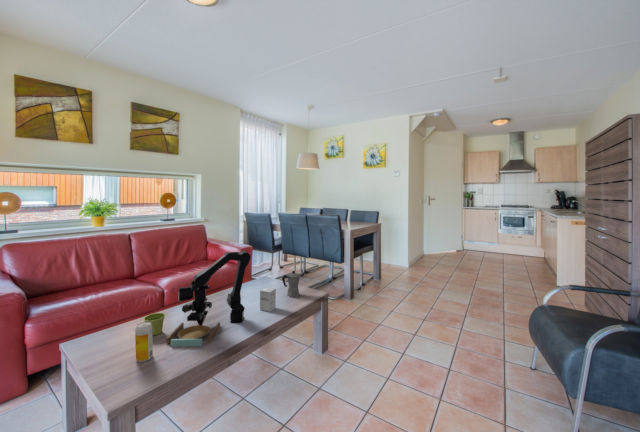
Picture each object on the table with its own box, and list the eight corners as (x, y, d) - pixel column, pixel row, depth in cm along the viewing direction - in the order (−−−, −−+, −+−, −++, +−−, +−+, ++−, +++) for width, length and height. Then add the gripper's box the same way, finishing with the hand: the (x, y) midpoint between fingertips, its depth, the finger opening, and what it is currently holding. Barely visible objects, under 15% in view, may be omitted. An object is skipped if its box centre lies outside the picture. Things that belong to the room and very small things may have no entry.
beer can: (141, 354, 119) (140, 321, 118) (155, 354, 120) (154, 321, 119) (132, 363, 113) (131, 328, 112) (148, 362, 114) (147, 327, 113)
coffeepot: (298, 292, 204) (298, 268, 203) (304, 295, 196) (304, 271, 195) (279, 295, 196) (279, 270, 195) (284, 299, 188) (285, 274, 187)
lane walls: (220, 327, 145) (220, 322, 145) (209, 343, 129) (209, 337, 129) (181, 328, 144) (181, 322, 144) (166, 344, 128) (166, 338, 128)
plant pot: (155, 338, 133) (155, 321, 133) (139, 336, 135) (139, 319, 134) (169, 330, 142) (169, 313, 142) (154, 328, 144) (154, 312, 144)
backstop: (202, 344, 128) (202, 338, 128) (201, 345, 127) (201, 339, 127) (171, 345, 127) (171, 339, 127) (170, 346, 126) (170, 340, 126)
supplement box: (259, 310, 169) (259, 290, 169) (266, 306, 176) (266, 286, 176) (269, 312, 167) (269, 292, 166) (276, 307, 174) (276, 288, 173)
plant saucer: (179, 332, 140) (179, 327, 140) (210, 328, 146) (210, 323, 145) (175, 346, 127) (175, 341, 126) (209, 341, 132) (209, 336, 132)
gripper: (191, 291, 152) (192, 318, 153) (176, 304, 134) (176, 335, 135) (212, 291, 153) (212, 318, 154) (199, 304, 134) (199, 335, 135)
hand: (200, 326), depth 144 cm, fingers closed
